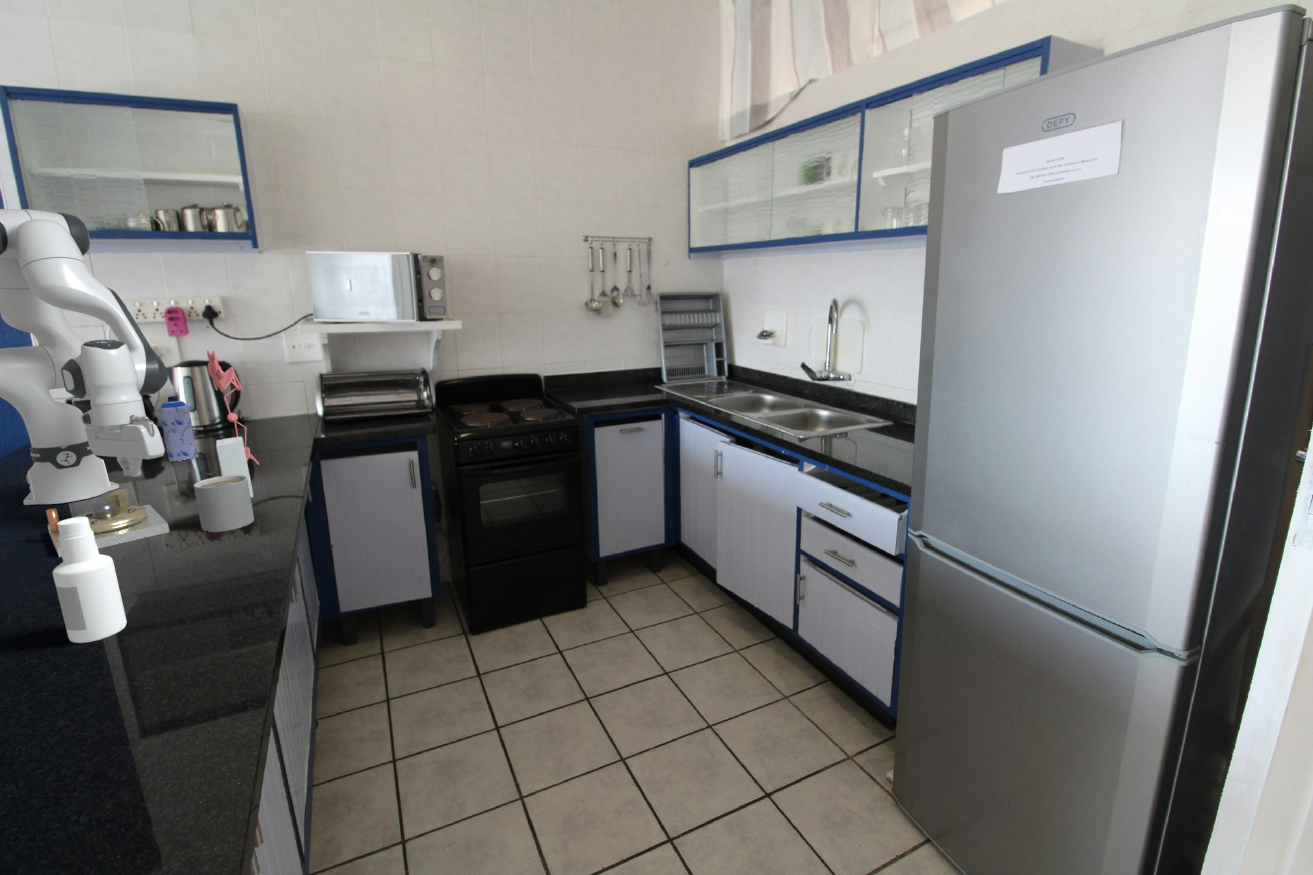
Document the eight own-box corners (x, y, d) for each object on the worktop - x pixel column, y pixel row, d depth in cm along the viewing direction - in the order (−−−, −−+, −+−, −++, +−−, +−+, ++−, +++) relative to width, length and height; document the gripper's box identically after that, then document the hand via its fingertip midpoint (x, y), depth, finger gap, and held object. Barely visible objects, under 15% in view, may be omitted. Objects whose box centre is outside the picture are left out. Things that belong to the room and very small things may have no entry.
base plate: (49, 533, 142) (42, 503, 141) (151, 512, 155) (145, 484, 153) (59, 557, 129) (51, 523, 127) (169, 532, 142) (163, 501, 140)
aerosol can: (203, 457, 209) (191, 395, 204) (175, 462, 202) (162, 399, 198) (191, 454, 213) (180, 394, 208) (164, 459, 206) (151, 397, 202)
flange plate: (129, 529, 137) (124, 507, 136) (49, 538, 133) (43, 515, 132) (161, 506, 152) (157, 486, 150) (90, 513, 148) (85, 492, 147)
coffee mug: (255, 525, 145) (248, 482, 142) (202, 535, 139) (193, 490, 137) (251, 509, 155) (244, 469, 153) (201, 518, 150) (193, 476, 148)
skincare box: (253, 497, 165) (244, 440, 161) (225, 502, 161) (215, 444, 158) (252, 490, 171) (243, 435, 168) (225, 494, 168) (215, 438, 165)
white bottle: (92, 622, 102) (66, 513, 98) (138, 619, 103) (114, 511, 99) (56, 645, 96) (27, 530, 92) (106, 642, 96) (79, 527, 92)
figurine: (249, 454, 211) (228, 345, 202) (269, 469, 192) (246, 350, 184) (193, 464, 201) (168, 351, 192) (207, 481, 182) (180, 356, 174)
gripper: (166, 413, 141) (178, 474, 144) (107, 411, 149) (120, 469, 152) (134, 419, 136) (148, 482, 139) (75, 416, 143) (89, 476, 146)
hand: (133, 475), depth 145 cm, fingers closed
